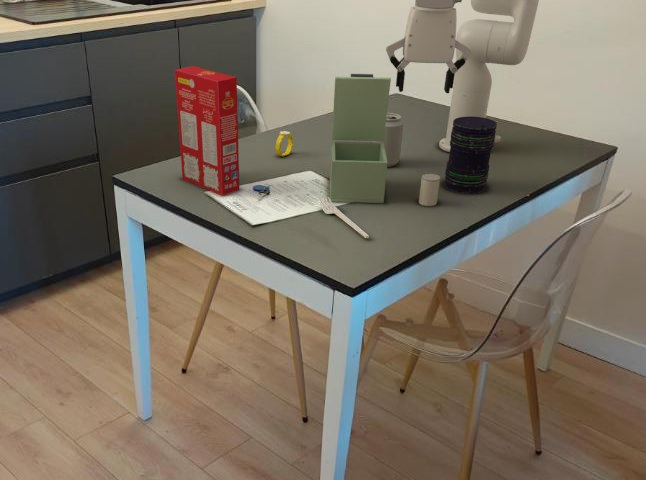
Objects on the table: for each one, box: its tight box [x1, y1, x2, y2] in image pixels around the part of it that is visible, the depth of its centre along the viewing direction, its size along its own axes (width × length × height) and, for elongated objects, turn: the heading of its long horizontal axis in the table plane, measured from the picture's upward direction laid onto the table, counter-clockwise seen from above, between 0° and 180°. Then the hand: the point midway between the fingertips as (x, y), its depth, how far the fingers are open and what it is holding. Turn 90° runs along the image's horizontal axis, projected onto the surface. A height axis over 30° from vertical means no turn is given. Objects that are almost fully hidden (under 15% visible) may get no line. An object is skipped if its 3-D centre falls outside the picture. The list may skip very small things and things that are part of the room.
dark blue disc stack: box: [443, 117, 498, 195], centre depth 162 cm, size 10×10×15 cm
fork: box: [318, 196, 370, 239], centre depth 148 cm, size 3×20×2 cm, turn 24°
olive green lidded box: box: [329, 140, 388, 204], centre depth 161 cm, size 14×12×9 cm
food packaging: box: [174, 65, 240, 196], centre depth 159 cm, size 15×5×25 cm, turn 44°
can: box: [371, 112, 404, 168], centre depth 176 cm, size 8×8×12 cm
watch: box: [275, 130, 294, 157], centre depth 183 cm, size 6×3×6 cm, turn 144°
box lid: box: [331, 73, 392, 142], centre depth 160 cm, size 15×12×6 cm
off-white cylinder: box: [418, 173, 441, 207], centre depth 156 cm, size 4×4×6 cm
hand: (423, 91), depth 148 cm, fingers open, 9 cm apart
